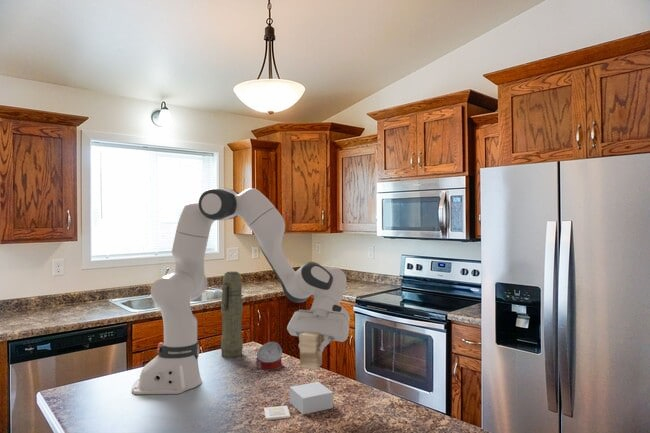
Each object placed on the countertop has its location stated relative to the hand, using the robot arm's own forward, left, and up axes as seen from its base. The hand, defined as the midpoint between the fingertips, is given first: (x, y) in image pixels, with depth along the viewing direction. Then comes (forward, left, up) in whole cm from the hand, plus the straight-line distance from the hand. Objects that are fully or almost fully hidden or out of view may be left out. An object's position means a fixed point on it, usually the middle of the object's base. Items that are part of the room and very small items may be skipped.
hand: (310, 349), depth 136 cm
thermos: (-23, +58, -17) cm, 64 cm away
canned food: (-9, +41, -18) cm, 45 cm away
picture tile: (-11, -3, -17) cm, 21 cm away
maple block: (0, +1, -5) cm, 5 cm away
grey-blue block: (0, +1, -18) cm, 18 cm away
